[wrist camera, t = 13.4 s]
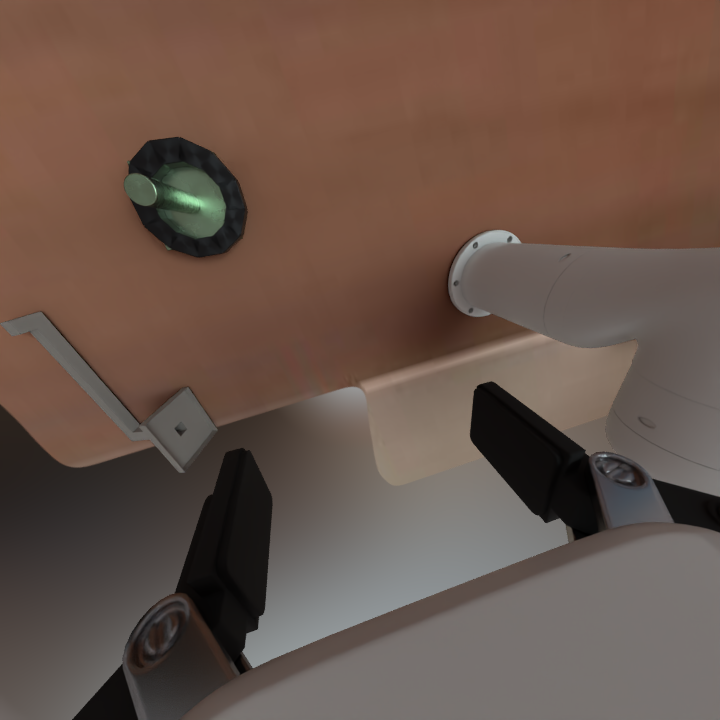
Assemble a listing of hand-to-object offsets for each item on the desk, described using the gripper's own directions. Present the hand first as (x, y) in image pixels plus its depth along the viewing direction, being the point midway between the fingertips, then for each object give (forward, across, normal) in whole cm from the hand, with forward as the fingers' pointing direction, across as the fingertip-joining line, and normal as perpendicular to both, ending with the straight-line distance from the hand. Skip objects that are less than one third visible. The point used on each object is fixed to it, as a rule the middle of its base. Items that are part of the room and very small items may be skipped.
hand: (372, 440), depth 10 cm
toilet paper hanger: (+28, +26, +7) cm, 39 cm away
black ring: (+27, +10, -12) cm, 32 cm away
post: (+28, +11, -12) cm, 33 cm away
